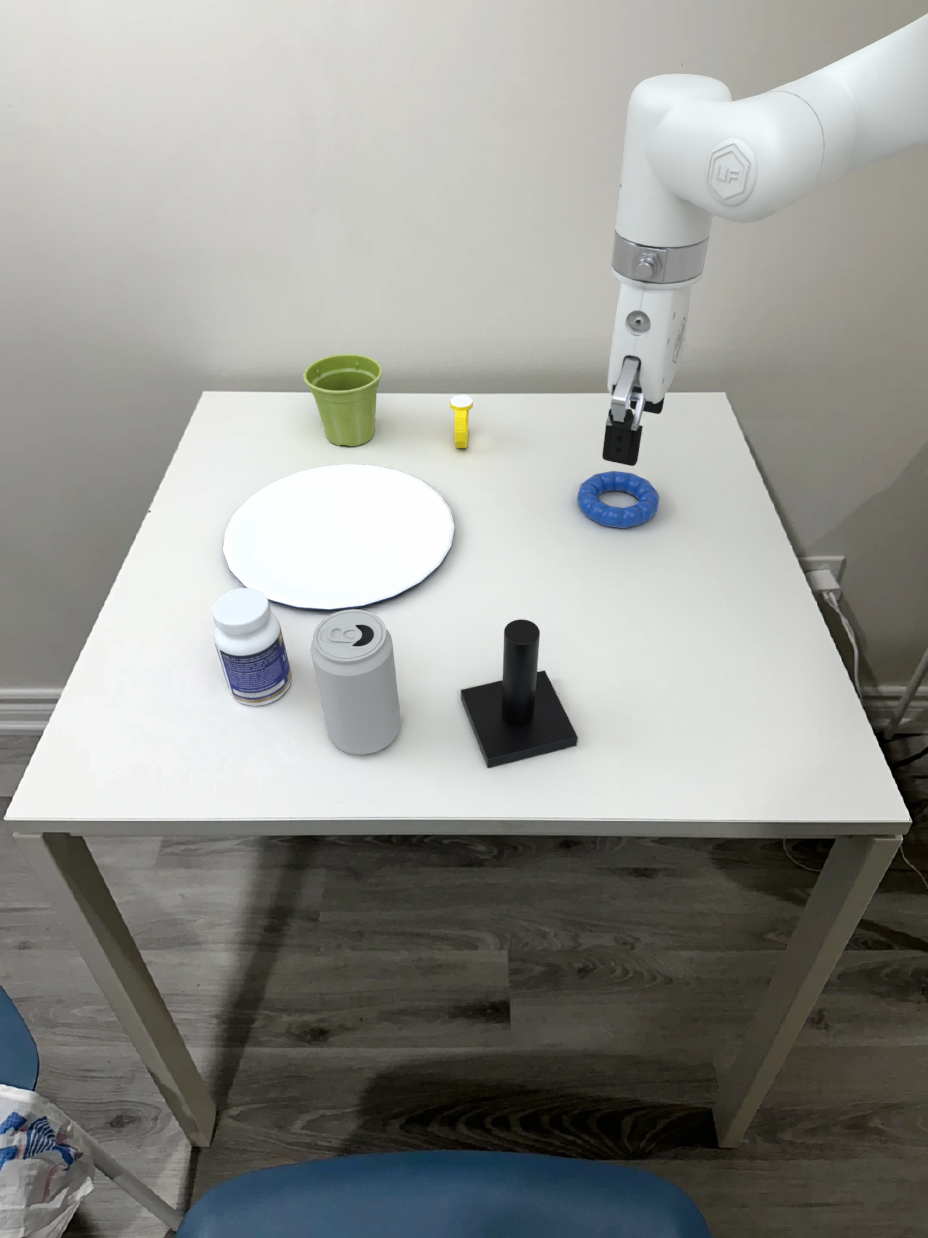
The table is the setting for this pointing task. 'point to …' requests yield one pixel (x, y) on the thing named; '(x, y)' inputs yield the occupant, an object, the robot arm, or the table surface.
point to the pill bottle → (250, 647)
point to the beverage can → (356, 681)
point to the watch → (461, 418)
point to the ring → (617, 514)
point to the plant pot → (345, 396)
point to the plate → (339, 536)
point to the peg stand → (518, 704)
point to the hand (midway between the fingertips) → (633, 435)
